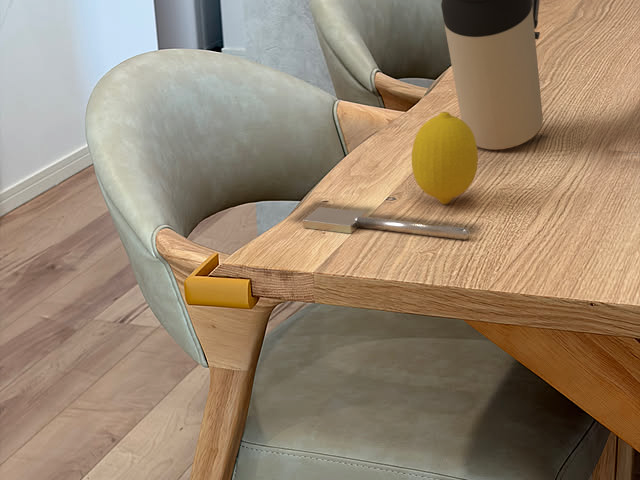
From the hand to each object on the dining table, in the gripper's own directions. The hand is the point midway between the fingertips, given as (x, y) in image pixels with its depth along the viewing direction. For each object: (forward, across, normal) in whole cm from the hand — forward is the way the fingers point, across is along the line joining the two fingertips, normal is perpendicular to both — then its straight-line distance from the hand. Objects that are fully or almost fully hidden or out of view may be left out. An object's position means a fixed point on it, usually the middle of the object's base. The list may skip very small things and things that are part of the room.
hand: (513, 105), depth 95 cm
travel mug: (+1, +4, 0) cm, 4 cm away
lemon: (+3, +23, 0) cm, 23 cm away
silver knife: (+2, +30, -2) cm, 30 cm away
